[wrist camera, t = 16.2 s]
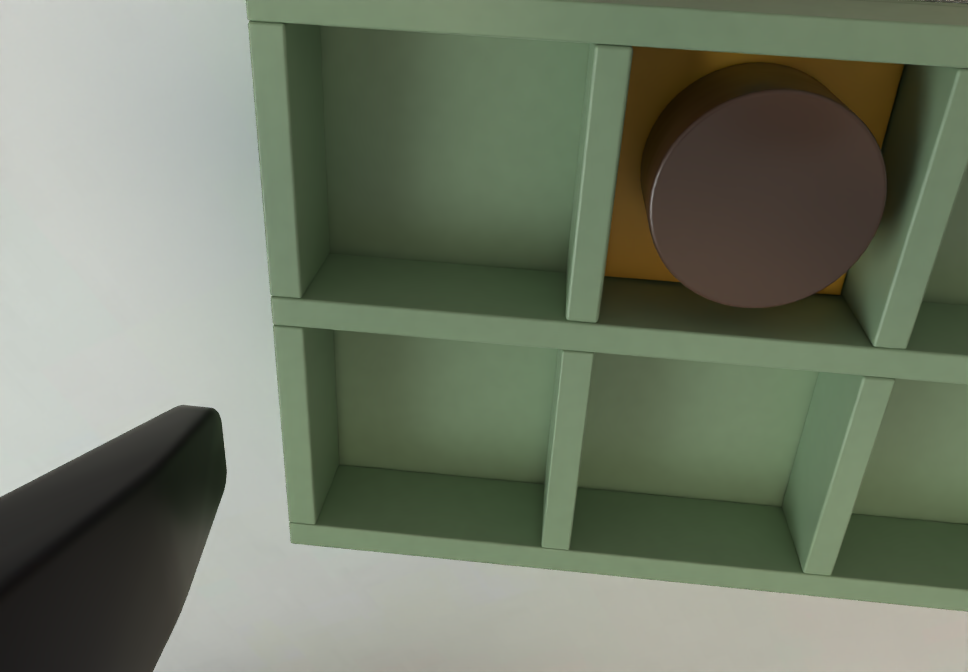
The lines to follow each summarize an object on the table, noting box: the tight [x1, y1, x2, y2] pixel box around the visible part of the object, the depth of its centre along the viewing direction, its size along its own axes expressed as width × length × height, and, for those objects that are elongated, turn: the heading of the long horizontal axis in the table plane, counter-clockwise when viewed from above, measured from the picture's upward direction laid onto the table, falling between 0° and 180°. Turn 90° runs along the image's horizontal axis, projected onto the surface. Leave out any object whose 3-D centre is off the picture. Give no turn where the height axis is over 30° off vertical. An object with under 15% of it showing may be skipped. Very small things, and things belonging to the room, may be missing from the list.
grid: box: [246, 0, 968, 612], centre depth 19 cm, size 13×20×3 cm
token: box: [640, 62, 887, 308], centre depth 17 cm, size 4×4×2 cm
